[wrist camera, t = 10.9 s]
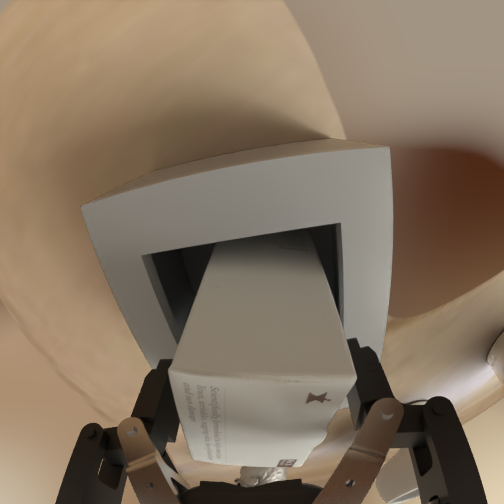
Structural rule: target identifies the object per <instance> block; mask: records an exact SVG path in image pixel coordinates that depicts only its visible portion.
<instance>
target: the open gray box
mask: <svg viewBox="0 0 504 504" xmlns="http://www.w3.org/2000/svg"><path fill="white" fill-rule="evenodd" d="M80 208H81V211H82V214H83V217H84V220H85V223H86V226H87V229H88V232H89V235H90V238H91V241H92V243H93V246H94V249H95V252H96V254H97V257H98V259H99V262H100V264H101V267H102V269H103V272H104V274H105V277H106V279H107V281H108V284H109V286H110V288H111V290H112V293H113V295H114V297H115V299H116V301H117V304H118V306H119V308H120V310H121V312H122V314H123V316H124V318H125V320H126V322H127V324H128V326H129V328H130V330H131V332H132V334H133V336H134V338H135V340H136V341H137V343H138V345H139V347H140V349H141V351H142V352H143V354H144V356H145V358H146V360H147V361H148V363H149V365H150V366H151V368H152V369H156V368H157V365H158V363H159V360H160V359H174V356H175V353H176V350H177V347H178V344H179V342H180V339H181V336H182V334H183V331H184V328H185V325H186V322H187V320H188V317H189V314H190V311H191V309H192V306H193V303H194V301H195V298H196V295H197V293H198V290H199V287H200V284H201V281H202V279H203V276H204V273H205V271H206V268H207V265H208V263H209V260H210V257H211V255H212V252H213V249H214V247H215V244H216V242H221V241H227V240H233V239H239V238H245V237H251V236H257V235H263V234H269V233H276V232H282V231H288V230H295V229H301V228H309V231H310V233H311V236H312V239H313V242H314V244H315V247H316V250H317V252H318V255H319V258H320V261H321V263H322V266H323V269H324V272H325V275H326V278H327V281H328V284H329V287H330V290H331V293H332V296H333V299H334V302H335V305H336V308H337V311H338V314H339V318H340V321H341V324H342V327H343V330H344V334H345V337H346V339H350V338H355V337H356V338H357V340H358V343H359V345H360V348H361V347H366V346H369V347H370V348H371V349H372V350H374V351H375V352H376V354H377V356H378V359H379V361H381V355H382V349H383V343H384V337H385V330H386V322H387V314H388V306H389V296H390V285H391V271H392V251H393V193H392V173H391V160H390V149H389V147H387V146H382V145H376V144H369V143H363V142H356V141H349V140H341V139H333V138H329V139H319V140H311V141H302V142H295V143H288V144H281V145H274V146H268V147H262V148H256V149H250V150H244V151H239V152H234V153H229V154H224V155H219V156H214V157H210V158H205V159H201V160H196V161H192V162H188V163H184V164H180V165H176V166H172V167H168V168H164V169H161V170H157V171H153V172H150V173H148V174H146V175H144V176H141V177H139V178H137V179H135V180H132V181H130V182H128V183H126V184H124V185H122V186H120V187H117V188H115V189H113V190H111V191H109V192H107V193H105V194H103V195H101V196H99V197H97V198H95V199H93V200H91V201H90V202H88V203H86V204H84V205H82V206H80ZM348 407H349V404H348V400H347V396H346V397H345V398H344V400H343V402H342V403H341V405H340V406H339V408H338V410H339V409H344V408H348Z"/></svg>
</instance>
